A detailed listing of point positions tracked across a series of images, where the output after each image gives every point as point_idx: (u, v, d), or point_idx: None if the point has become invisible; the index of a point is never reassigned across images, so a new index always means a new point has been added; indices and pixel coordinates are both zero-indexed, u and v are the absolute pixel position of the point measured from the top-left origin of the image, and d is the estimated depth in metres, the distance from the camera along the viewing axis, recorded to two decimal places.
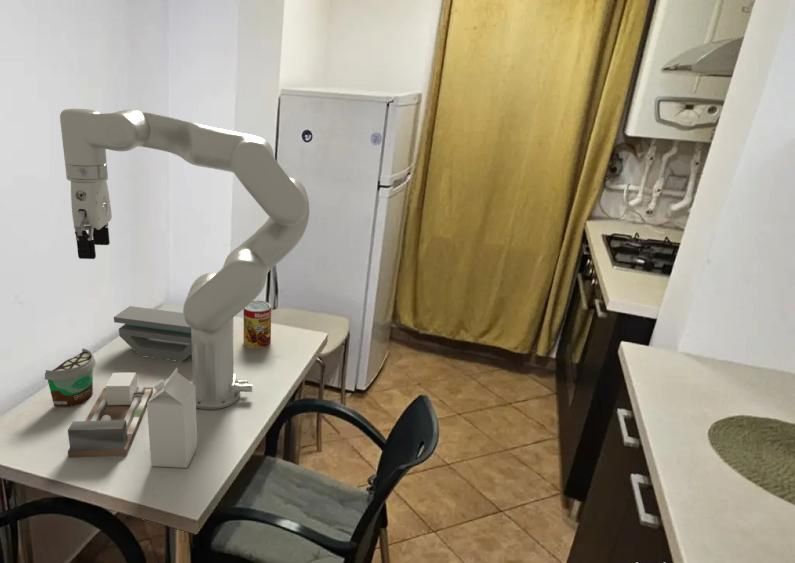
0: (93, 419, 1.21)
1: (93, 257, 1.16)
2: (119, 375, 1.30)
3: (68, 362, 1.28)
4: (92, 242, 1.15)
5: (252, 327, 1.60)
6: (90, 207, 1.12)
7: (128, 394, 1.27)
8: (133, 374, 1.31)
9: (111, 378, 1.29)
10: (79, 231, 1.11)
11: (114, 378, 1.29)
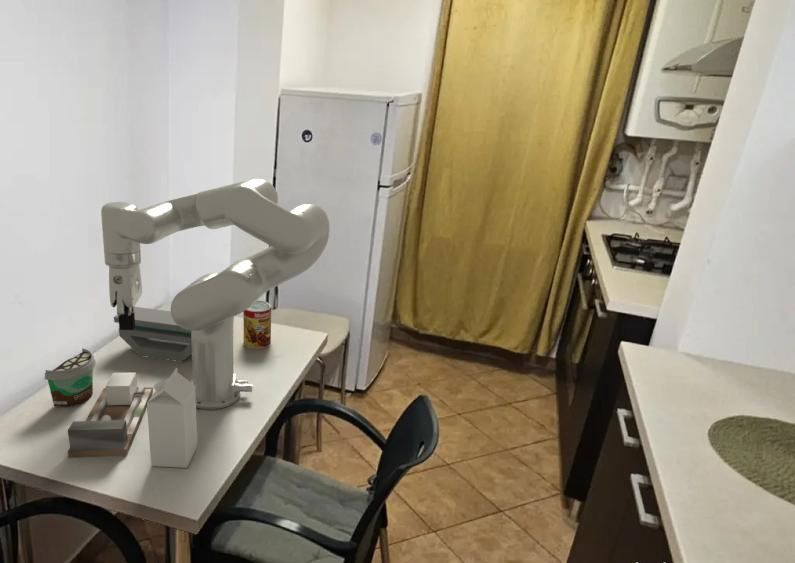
0: (93, 419, 1.21)
1: (132, 328, 1.34)
2: (119, 375, 1.30)
3: (68, 362, 1.28)
4: (131, 316, 1.33)
5: (252, 327, 1.60)
6: (126, 289, 1.26)
7: (128, 394, 1.27)
8: (133, 374, 1.31)
9: (111, 378, 1.29)
10: None
11: (114, 378, 1.29)
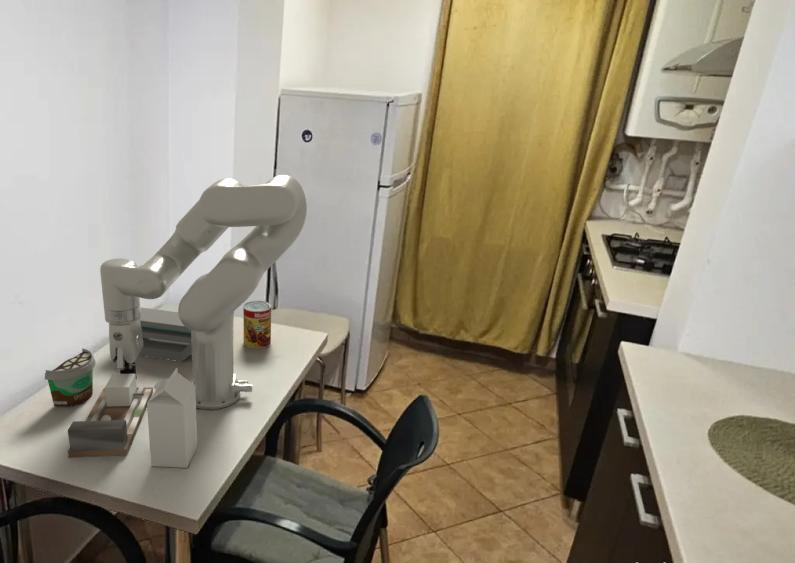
0: (93, 419, 1.21)
1: None
2: (118, 376, 1.30)
3: (68, 362, 1.28)
4: (132, 369, 1.33)
5: (252, 327, 1.60)
6: (126, 346, 1.27)
7: (127, 395, 1.27)
8: (132, 375, 1.31)
9: (110, 379, 1.28)
10: None
11: (113, 379, 1.28)
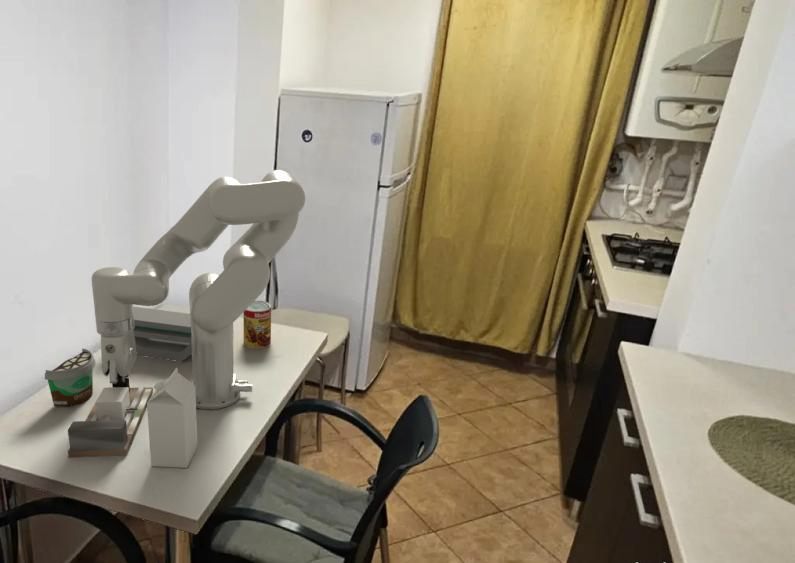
0: (93, 419, 1.21)
1: None
2: (111, 390, 1.24)
3: (68, 362, 1.28)
4: (126, 383, 1.28)
5: (252, 327, 1.60)
6: (118, 358, 1.21)
7: (120, 410, 1.21)
8: (126, 389, 1.25)
9: (102, 393, 1.23)
10: None
11: (105, 393, 1.23)
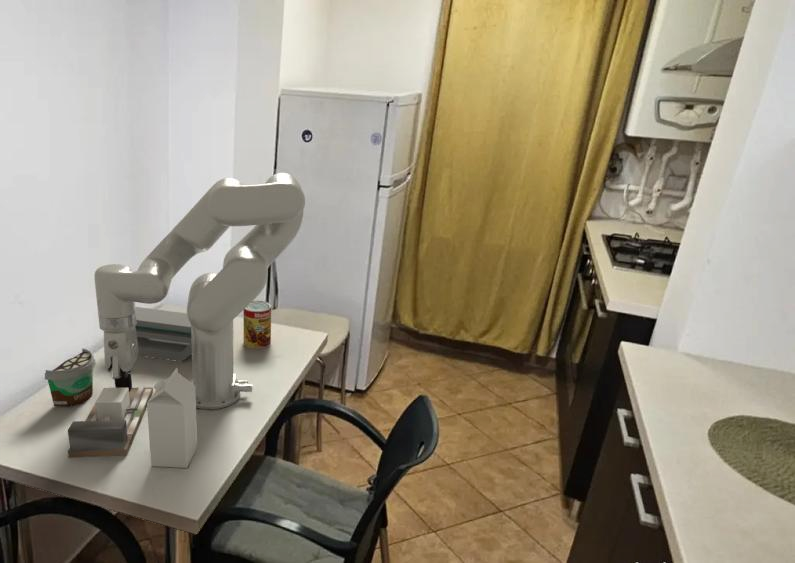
0: (93, 419, 1.21)
1: (129, 390, 1.31)
2: (111, 390, 1.24)
3: (68, 362, 1.28)
4: (128, 378, 1.30)
5: (252, 327, 1.60)
6: (121, 354, 1.23)
7: (120, 411, 1.21)
8: (125, 389, 1.25)
9: (102, 394, 1.23)
10: None
11: (105, 394, 1.23)
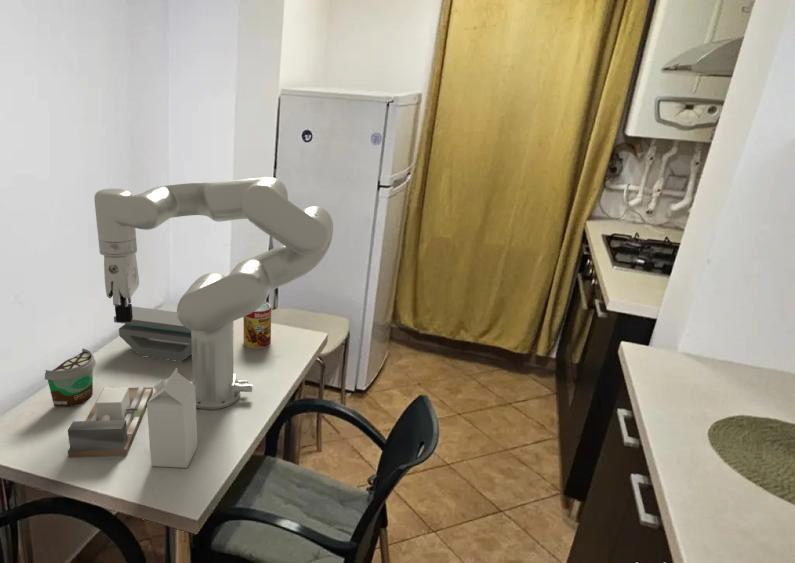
0: (93, 419, 1.21)
1: (129, 320, 1.29)
2: (111, 390, 1.24)
3: (68, 362, 1.28)
4: (128, 307, 1.28)
5: (252, 327, 1.60)
6: (122, 279, 1.22)
7: (120, 411, 1.21)
8: (125, 389, 1.25)
9: (102, 394, 1.23)
10: None
11: (105, 394, 1.23)
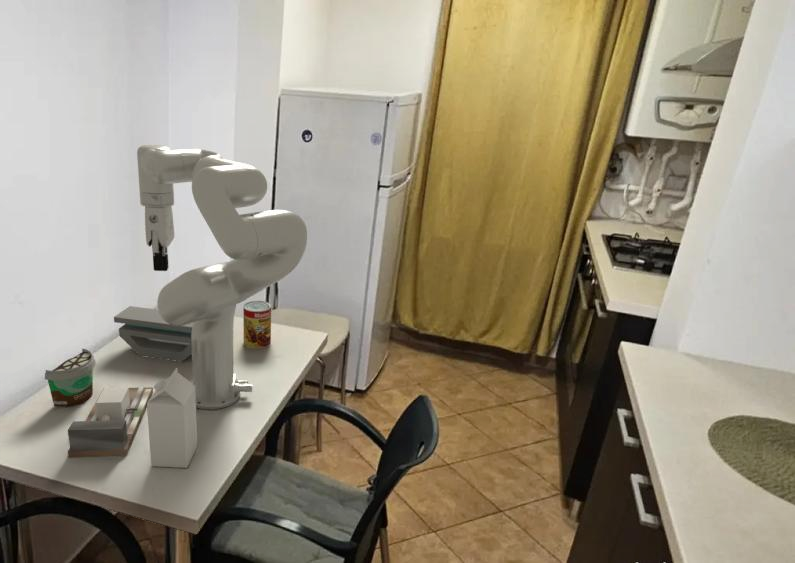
0: (93, 419, 1.21)
1: (165, 269, 1.40)
2: (111, 390, 1.24)
3: (68, 362, 1.28)
4: (165, 257, 1.39)
5: (252, 327, 1.60)
6: (161, 228, 1.32)
7: (120, 411, 1.21)
8: (125, 389, 1.25)
9: (102, 394, 1.23)
10: (157, 252, 1.35)
11: (105, 394, 1.23)
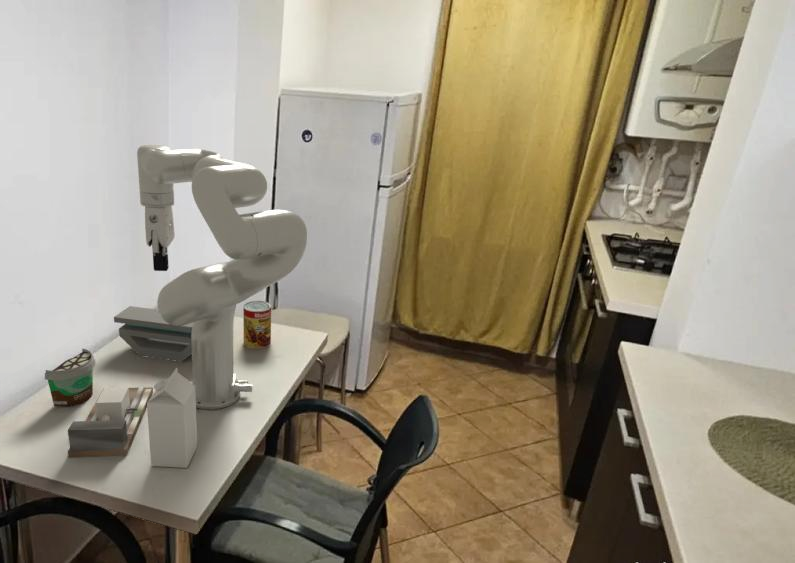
0: (93, 419, 1.21)
1: (165, 269, 1.40)
2: (111, 390, 1.24)
3: (68, 362, 1.28)
4: (165, 257, 1.39)
5: (252, 327, 1.60)
6: (161, 228, 1.32)
7: (120, 411, 1.21)
8: (125, 389, 1.25)
9: (102, 394, 1.23)
10: (157, 252, 1.35)
11: (105, 394, 1.23)
